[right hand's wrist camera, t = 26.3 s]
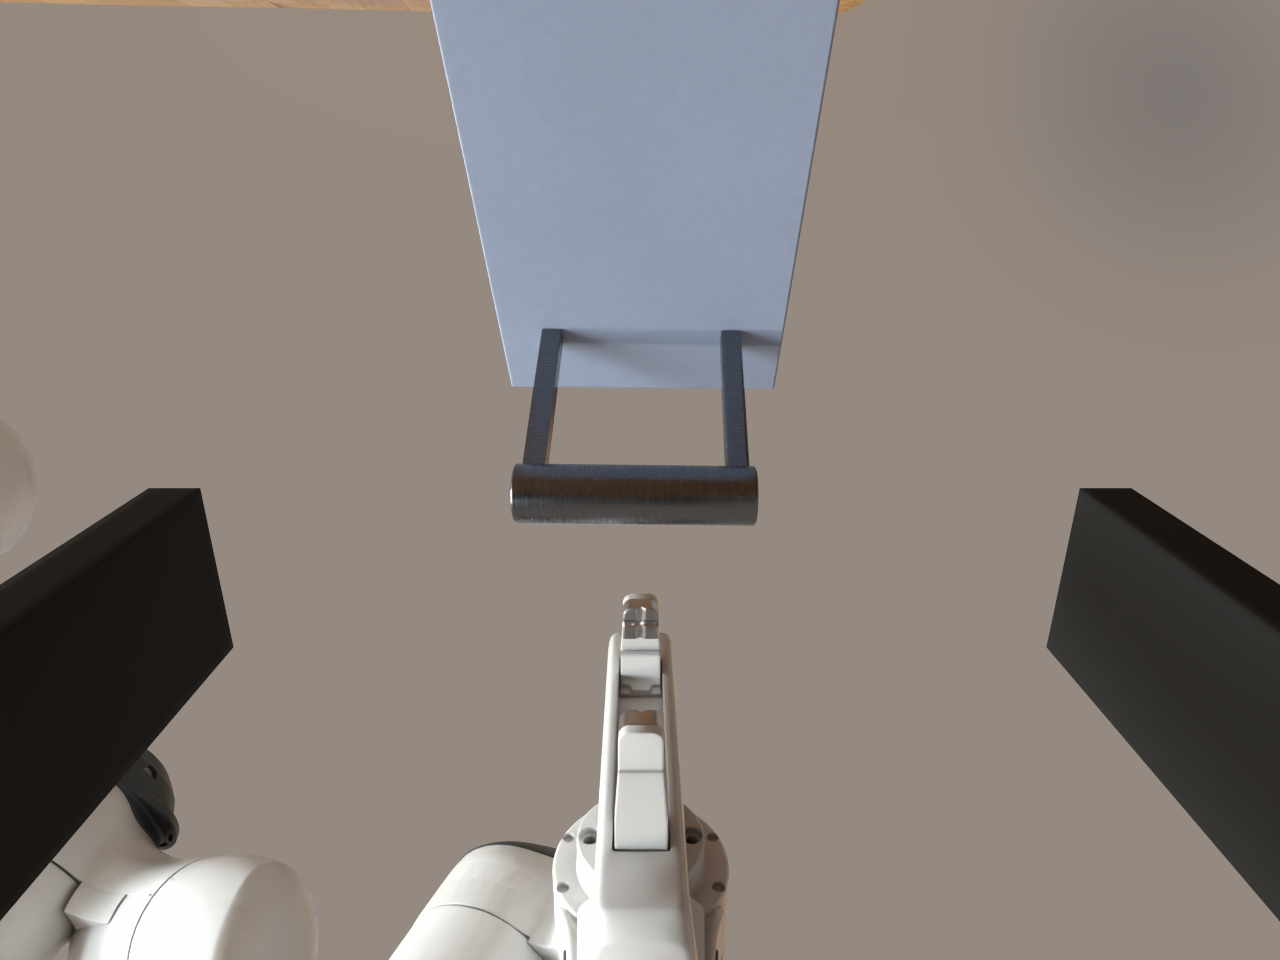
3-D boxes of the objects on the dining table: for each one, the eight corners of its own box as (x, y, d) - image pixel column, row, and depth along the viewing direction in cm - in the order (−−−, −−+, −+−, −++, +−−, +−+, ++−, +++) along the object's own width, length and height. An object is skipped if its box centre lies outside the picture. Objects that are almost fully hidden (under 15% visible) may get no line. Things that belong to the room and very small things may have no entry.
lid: (771, 367, 31) (790, 567, 26) (515, 365, 32) (482, 563, 26) (860, -179, 18) (937, 10, 12) (406, -173, 18) (294, 14, 13)
